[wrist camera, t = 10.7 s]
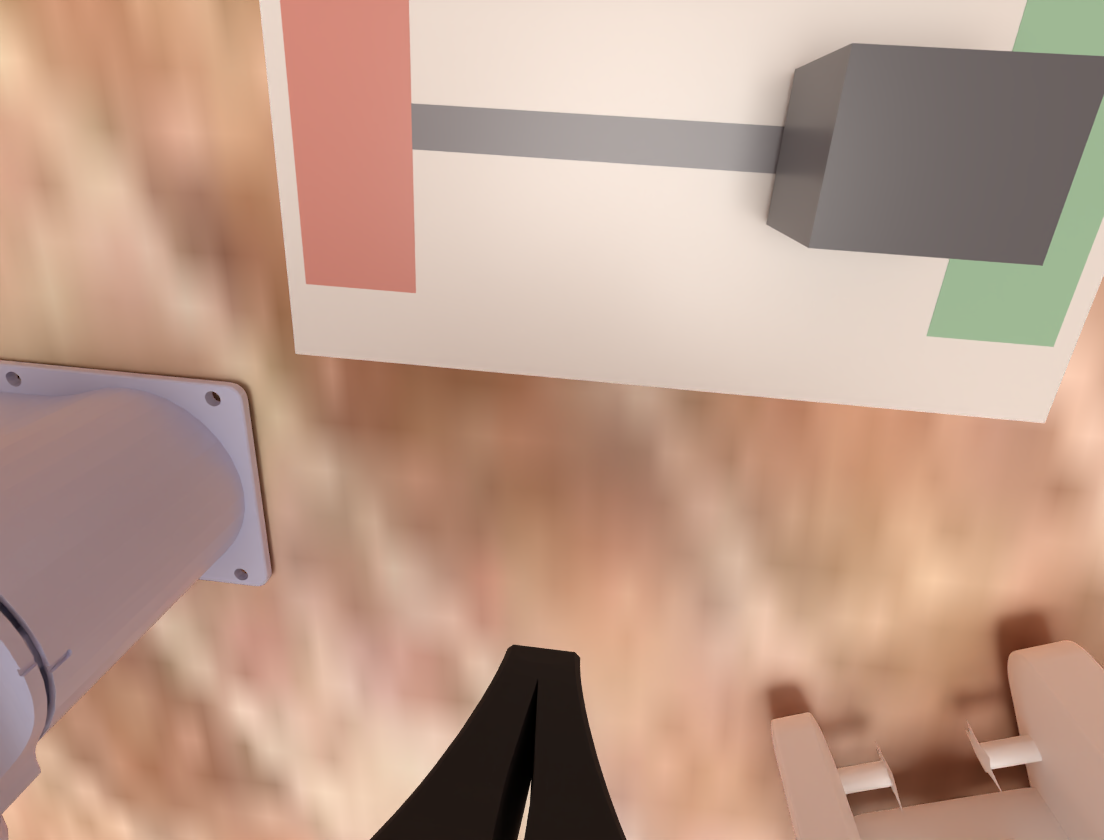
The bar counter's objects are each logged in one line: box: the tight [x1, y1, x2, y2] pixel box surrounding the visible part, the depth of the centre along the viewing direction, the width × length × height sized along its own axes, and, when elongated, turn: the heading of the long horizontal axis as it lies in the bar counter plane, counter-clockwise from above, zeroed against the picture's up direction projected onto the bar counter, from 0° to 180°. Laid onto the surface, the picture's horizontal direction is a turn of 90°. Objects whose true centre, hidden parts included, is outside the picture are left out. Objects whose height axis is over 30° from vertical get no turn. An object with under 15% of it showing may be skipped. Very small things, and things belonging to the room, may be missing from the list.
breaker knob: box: [766, 43, 1104, 266], centre depth 12 cm, size 4×3×4 cm
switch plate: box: [259, 0, 1104, 423], centre depth 16 cm, size 20×12×2 cm, turn 87°
